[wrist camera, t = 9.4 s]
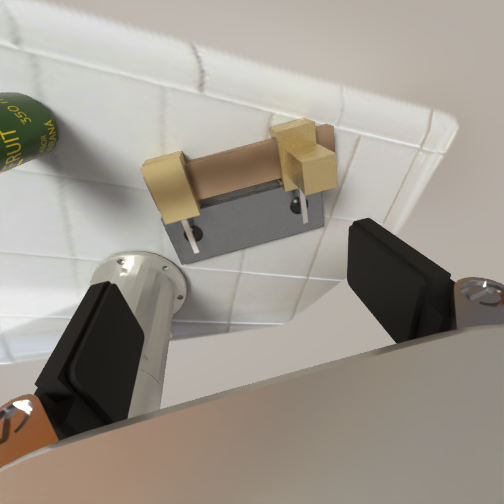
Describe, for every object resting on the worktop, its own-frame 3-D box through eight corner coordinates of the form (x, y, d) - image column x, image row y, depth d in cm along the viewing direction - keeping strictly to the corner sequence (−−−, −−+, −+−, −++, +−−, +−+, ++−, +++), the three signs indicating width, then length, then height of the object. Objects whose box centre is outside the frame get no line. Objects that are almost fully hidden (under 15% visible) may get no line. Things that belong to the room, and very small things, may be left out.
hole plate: (320, 222, 36) (323, 226, 35) (182, 260, 36) (182, 265, 35) (317, 174, 32) (320, 176, 32) (162, 216, 32) (160, 220, 31)
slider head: (312, 209, 35) (343, 244, 27) (284, 217, 35) (306, 254, 27) (304, 118, 29) (341, 130, 21) (269, 127, 29) (293, 143, 21)
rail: (330, 203, 35) (341, 214, 32) (179, 245, 35) (177, 259, 32) (325, 112, 29) (339, 115, 26) (141, 161, 29) (135, 169, 26)
